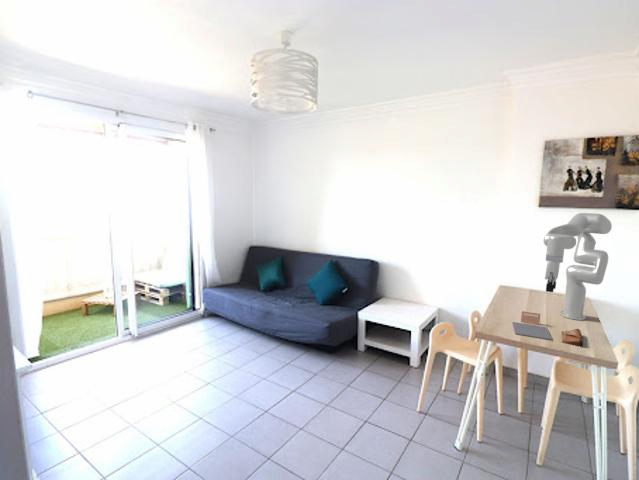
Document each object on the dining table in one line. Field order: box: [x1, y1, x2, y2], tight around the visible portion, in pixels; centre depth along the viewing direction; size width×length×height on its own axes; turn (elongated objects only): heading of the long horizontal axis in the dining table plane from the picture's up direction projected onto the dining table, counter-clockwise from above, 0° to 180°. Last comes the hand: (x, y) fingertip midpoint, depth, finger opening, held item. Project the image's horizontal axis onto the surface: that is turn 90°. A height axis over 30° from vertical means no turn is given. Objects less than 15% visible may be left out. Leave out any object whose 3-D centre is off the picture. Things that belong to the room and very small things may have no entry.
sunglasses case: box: [561, 328, 584, 348], centre depth 169 cm, size 18×7×7 cm
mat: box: [511, 321, 553, 341], centre depth 178 cm, size 18×16×1 cm
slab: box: [520, 309, 541, 326], centre depth 190 cm, size 2×9×6 cm, turn 64°
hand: (550, 290), depth 179 cm, fingers open, 9 cm apart
